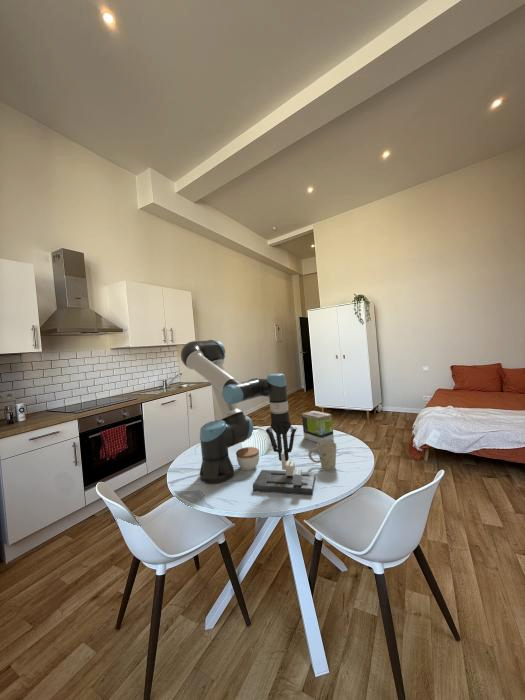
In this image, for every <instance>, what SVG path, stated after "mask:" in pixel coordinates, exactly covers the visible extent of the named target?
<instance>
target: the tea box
mask: <svg viewBox="0 0 525 700" xmlns="http://www.w3.org/2000/svg"><path fill="white" fill-rule="evenodd" d="M301 417H302V430H303V439H306V440H309V441H312V442H314V443H317V444H318V443H319V442H323V441H331V442H333V441H334V437H335V436H334V426H333V414H331V413H328V412H322V411H317V410H311V411H307V412H303V413H302V414H301Z"/></svg>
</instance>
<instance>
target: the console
mask: <svg viewBox="0 0 525 700" xmlns="http://www.w3.org/2000/svg"><path fill="white" fill-rule="evenodd" d="M302 477H303V481H302V485H293V476H286V470H275V469H274V470H273V469H261V470H260V471H259V473H258V475H257V477H256V478H255V480H254V482H253V484H252V491H253V492H256V493H257V492H258V493H269V494H270V493H271V494H284V495H285V494H287V495H300V496H301V495H302V496H313V495H314V489H315V484H316V471H303V470H302Z"/></svg>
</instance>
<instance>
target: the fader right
mask: <svg viewBox="0 0 525 700" xmlns="http://www.w3.org/2000/svg"><path fill="white" fill-rule="evenodd" d="M302 471H303V470H302V469H295V470H294V472H293V485H302V481H303V477H302Z"/></svg>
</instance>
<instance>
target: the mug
mask: <svg viewBox="0 0 525 700" xmlns="http://www.w3.org/2000/svg"><path fill="white" fill-rule="evenodd" d="M316 446H317V447H312V448H311V449H310V450H309V452H308V458H309V460H310V461H312V462H313V463H318V464H319V463H320V466H321V468H322V469H323V470H327V471H329V470H334V469H335V468H336V462H337V460H336V459H337V444H336V443H335V442H334V441H323V442H319V443H317V444H316ZM315 451H316V452H317V451H318V456H319V460H315V459H314V458H313V456H312V454H313V452H315Z"/></svg>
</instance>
